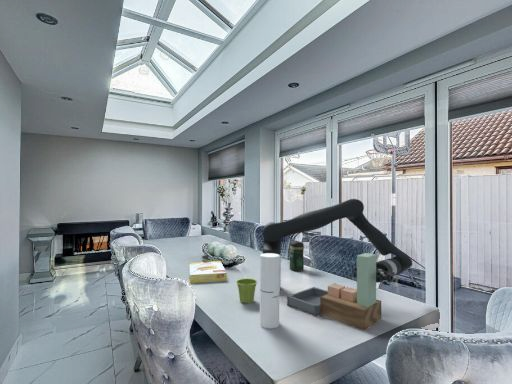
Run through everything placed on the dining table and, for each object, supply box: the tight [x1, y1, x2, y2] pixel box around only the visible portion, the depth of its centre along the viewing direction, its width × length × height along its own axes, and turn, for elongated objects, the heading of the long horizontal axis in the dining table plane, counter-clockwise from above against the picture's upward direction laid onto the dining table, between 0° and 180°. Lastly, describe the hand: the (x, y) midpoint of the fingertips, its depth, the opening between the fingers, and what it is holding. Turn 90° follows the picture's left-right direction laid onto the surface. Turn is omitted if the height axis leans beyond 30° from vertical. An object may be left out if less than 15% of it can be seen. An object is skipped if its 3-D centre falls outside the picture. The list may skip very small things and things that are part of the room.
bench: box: [319, 294, 382, 332], centre depth 109 cm, size 14×18×7 cm
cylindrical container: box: [259, 253, 281, 329], centre depth 102 cm, size 7×7×25 cm
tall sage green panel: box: [356, 252, 377, 308], centre depth 104 cm, size 7×4×18 cm, turn 133°
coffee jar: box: [289, 240, 305, 272], centre depth 180 cm, size 10×8×19 cm
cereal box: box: [188, 261, 228, 284], centre depth 166 cm, size 20×6×28 cm
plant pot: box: [235, 278, 258, 304], centre depth 125 cm, size 9×9×9 cm
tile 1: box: [327, 283, 346, 298], centre depth 113 cm, size 5×5×4 cm
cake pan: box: [200, 254, 223, 265], centre depth 198 cm, size 25×25×4 cm
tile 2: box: [341, 286, 357, 302], centre depth 109 cm, size 5×5×4 cm
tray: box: [286, 286, 328, 317], centre depth 121 cm, size 19×15×4 cm
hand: (365, 277), depth 104 cm, fingers open, 8 cm apart
